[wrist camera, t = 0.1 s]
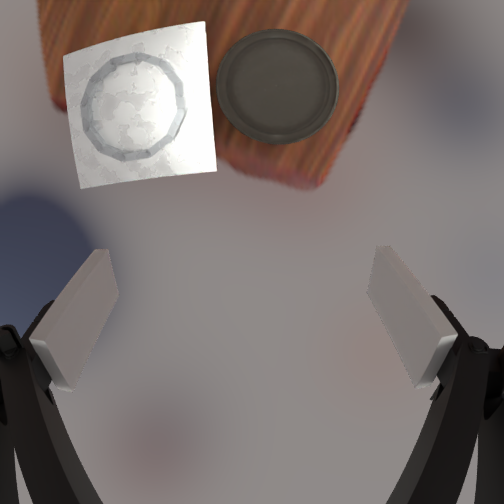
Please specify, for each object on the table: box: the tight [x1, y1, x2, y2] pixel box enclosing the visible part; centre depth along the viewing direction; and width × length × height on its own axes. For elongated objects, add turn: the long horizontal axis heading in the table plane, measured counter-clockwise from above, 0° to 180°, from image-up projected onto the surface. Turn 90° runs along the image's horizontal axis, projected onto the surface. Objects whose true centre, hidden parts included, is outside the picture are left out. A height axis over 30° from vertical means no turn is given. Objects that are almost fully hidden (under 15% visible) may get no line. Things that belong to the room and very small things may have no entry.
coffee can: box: [216, 29, 339, 144], centre depth 29 cm, size 10×10×14 cm
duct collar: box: [63, 21, 217, 189], centre depth 34 cm, size 20×20×2 cm
